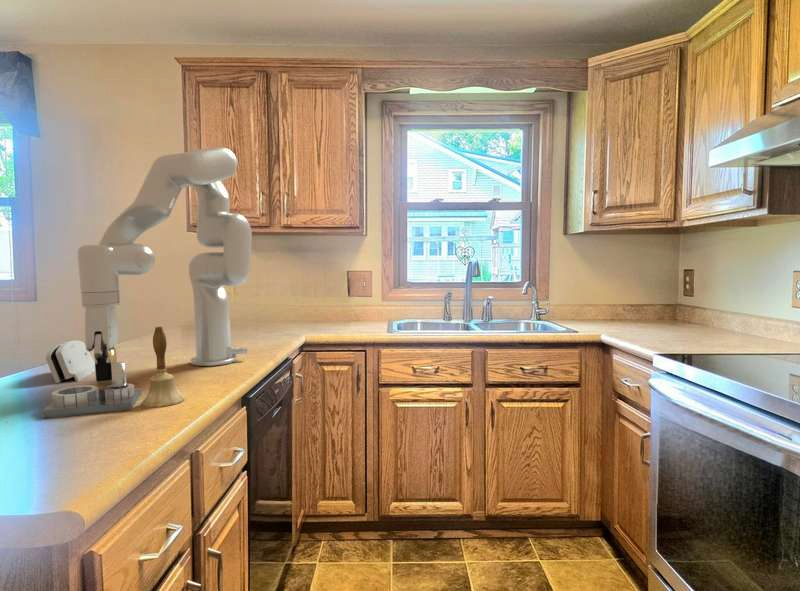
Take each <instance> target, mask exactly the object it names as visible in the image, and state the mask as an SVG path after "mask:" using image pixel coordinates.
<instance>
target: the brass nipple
mask: <svg viewBox="0 0 800 591" xmlns="http://www.w3.org/2000/svg"><path fill="white" fill-rule="evenodd" d="M103 349H106V348H102V350H103ZM103 353H105V354H106V352H103ZM105 356H106V355H105ZM117 357H118V356H117V348H116V347H115V348H111V349H110V362H112V363H115V362H118V359H117ZM93 360H95V355H94V354H93ZM95 381H96V380H95ZM95 385H96V386H97V387H108V386H112V380H109V381H96V383H95Z"/></svg>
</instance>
